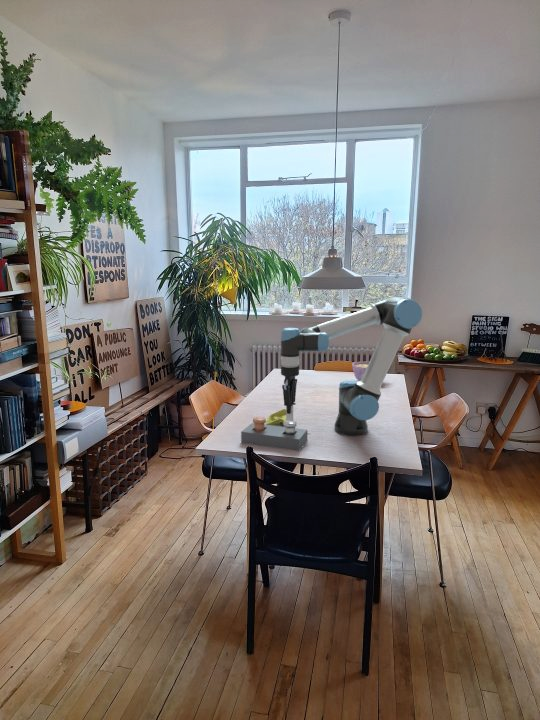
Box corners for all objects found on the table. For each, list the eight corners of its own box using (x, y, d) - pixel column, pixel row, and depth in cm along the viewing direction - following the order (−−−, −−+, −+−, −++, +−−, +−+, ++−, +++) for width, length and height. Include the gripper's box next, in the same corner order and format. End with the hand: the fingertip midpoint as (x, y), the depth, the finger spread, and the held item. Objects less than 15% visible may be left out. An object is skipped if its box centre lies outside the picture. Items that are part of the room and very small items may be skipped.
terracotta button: (267, 430, 204) (267, 417, 202) (263, 434, 198) (262, 421, 197) (256, 429, 206) (255, 416, 204) (251, 433, 200) (250, 420, 199)
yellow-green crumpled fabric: (269, 415, 229) (287, 407, 227) (275, 428, 229) (293, 420, 227) (263, 425, 209) (283, 417, 208) (270, 440, 210) (290, 431, 208)
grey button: (298, 434, 199) (298, 421, 197) (294, 439, 194) (294, 425, 192) (285, 433, 201) (285, 420, 199) (281, 437, 196) (281, 424, 194)
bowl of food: (388, 381, 303) (389, 364, 300) (373, 387, 288) (374, 369, 286) (361, 376, 316) (362, 360, 313) (345, 382, 301) (346, 365, 299)
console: (307, 440, 201) (307, 429, 200) (298, 450, 190) (299, 439, 189) (252, 433, 210) (252, 422, 209) (241, 442, 199) (241, 431, 198)
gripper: (286, 361, 198) (286, 414, 203) (276, 368, 186) (275, 423, 191) (303, 363, 196) (302, 416, 200) (293, 369, 184) (293, 426, 188)
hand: (289, 420), depth 196 cm, fingers closed
